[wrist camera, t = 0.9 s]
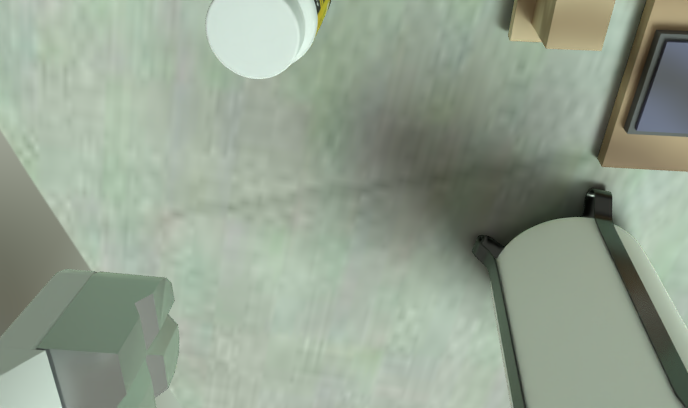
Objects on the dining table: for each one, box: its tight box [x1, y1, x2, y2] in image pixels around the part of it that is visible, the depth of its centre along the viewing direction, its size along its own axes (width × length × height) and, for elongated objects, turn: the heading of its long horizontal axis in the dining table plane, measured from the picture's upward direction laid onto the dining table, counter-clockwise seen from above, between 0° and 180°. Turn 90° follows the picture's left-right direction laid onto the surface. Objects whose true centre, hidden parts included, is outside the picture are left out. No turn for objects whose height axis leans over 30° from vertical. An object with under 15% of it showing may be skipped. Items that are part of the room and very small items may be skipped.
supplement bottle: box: [205, 0, 331, 79], centre depth 32 cm, size 6×6×10 cm
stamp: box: [508, 0, 615, 51], centre depth 32 cm, size 5×5×6 cm
